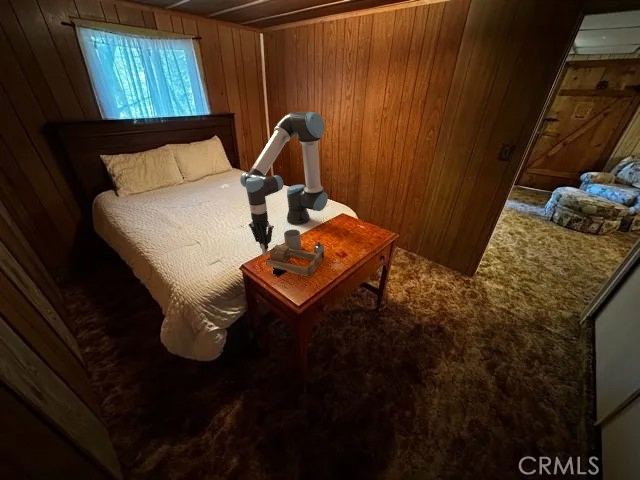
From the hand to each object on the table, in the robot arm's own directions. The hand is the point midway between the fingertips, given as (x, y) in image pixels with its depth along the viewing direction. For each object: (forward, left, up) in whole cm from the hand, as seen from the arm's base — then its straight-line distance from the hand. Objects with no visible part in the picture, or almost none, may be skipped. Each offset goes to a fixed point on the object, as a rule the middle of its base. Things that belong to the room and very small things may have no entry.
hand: (265, 254), depth 129 cm
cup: (-12, +10, -3) cm, 16 cm away
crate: (0, +9, -2) cm, 9 cm away
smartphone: (+6, +8, -3) cm, 11 cm away
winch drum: (-10, +26, -2) cm, 28 cm away
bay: (0, +16, -2) cm, 16 cm away
